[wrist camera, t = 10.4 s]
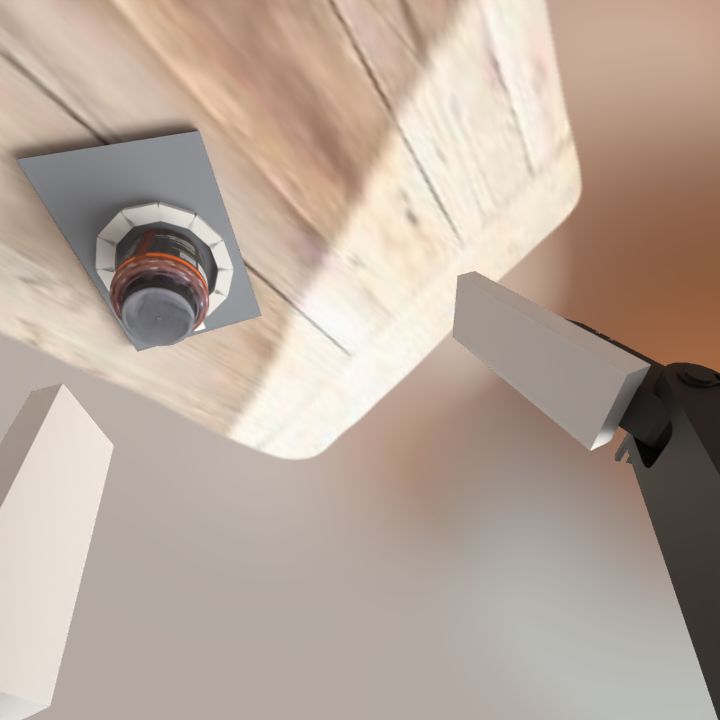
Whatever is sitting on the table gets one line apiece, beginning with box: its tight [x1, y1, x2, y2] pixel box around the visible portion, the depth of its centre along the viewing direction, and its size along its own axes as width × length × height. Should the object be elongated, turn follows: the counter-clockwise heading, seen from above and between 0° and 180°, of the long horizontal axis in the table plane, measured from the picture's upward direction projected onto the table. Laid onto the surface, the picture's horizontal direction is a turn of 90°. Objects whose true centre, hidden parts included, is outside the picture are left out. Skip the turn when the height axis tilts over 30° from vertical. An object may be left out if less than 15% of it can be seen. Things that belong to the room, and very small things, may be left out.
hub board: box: [16, 131, 262, 352], centre depth 29 cm, size 16×12×2 cm
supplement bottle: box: [110, 229, 209, 346], centre depth 25 cm, size 6×6×11 cm
